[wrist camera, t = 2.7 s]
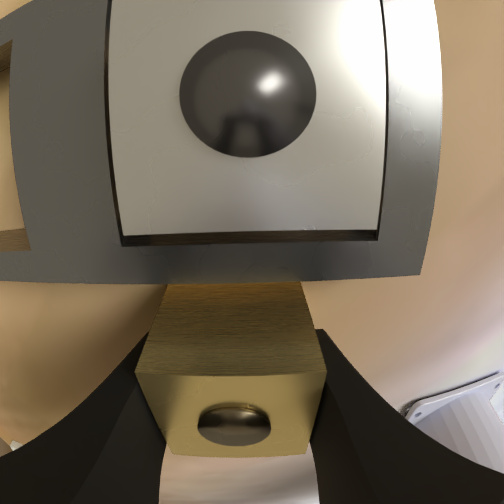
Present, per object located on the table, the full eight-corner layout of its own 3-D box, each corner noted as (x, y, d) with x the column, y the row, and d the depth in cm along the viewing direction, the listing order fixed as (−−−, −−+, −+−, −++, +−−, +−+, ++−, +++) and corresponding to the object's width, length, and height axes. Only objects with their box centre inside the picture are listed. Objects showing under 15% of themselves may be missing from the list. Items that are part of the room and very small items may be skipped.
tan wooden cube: (291, 365, 11) (305, 457, 7) (188, 366, 11) (172, 458, 7) (298, 275, 9) (328, 376, 5) (170, 278, 9) (133, 377, 5)
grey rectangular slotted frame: (390, 244, 9) (419, 274, 7) (-38, 256, 9) (-63, 276, 7) (396, 0, 5) (429, -20, 4) (-60, 92, 5) (-90, 97, 3)
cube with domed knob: (319, 179, 8) (380, 233, 4) (176, 182, 8) (119, 238, 4) (319, 42, 6) (381, -15, 3) (171, 45, 6) (109, -10, 3)
